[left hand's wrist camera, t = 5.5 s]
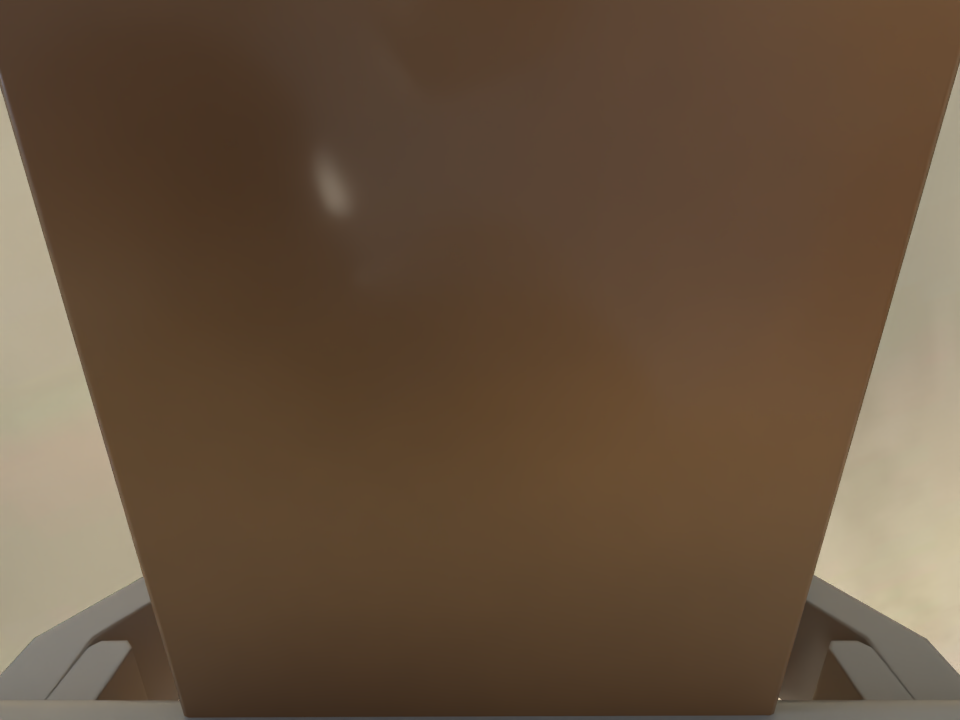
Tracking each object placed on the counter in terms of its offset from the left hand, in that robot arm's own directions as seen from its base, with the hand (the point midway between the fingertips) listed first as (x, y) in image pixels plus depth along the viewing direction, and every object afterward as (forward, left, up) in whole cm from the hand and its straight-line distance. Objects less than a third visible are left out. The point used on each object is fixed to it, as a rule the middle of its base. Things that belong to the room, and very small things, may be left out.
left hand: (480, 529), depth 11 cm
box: (+7, 0, -8) cm, 11 cm away
